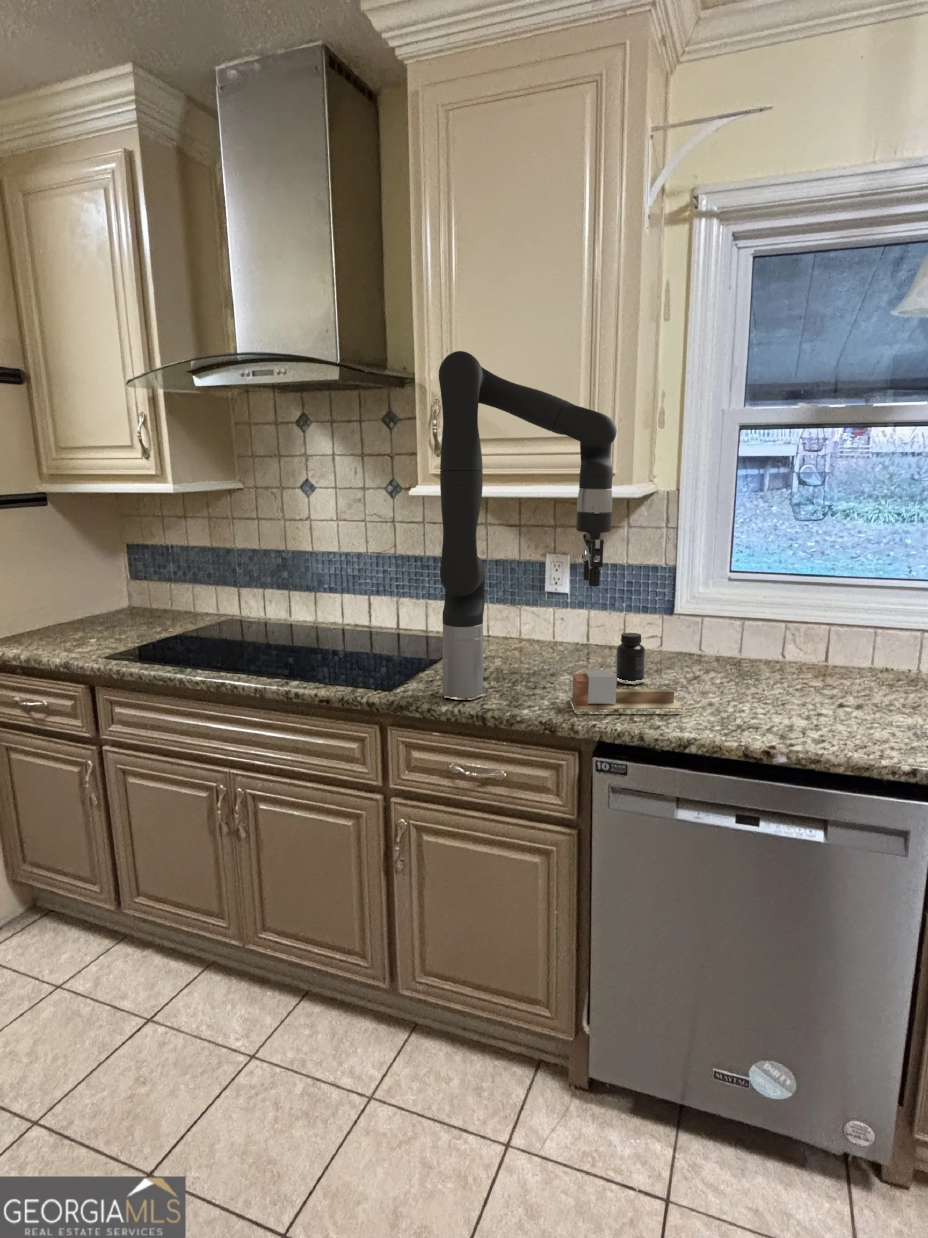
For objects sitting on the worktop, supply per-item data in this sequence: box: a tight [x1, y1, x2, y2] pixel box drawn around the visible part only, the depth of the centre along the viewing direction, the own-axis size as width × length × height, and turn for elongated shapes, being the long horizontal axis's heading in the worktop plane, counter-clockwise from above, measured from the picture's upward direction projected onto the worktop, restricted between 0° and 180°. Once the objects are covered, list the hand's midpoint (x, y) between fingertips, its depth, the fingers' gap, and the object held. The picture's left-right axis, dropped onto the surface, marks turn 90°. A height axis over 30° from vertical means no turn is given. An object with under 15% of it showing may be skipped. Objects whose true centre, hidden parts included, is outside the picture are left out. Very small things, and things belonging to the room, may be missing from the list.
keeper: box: [584, 669, 618, 704], centre depth 159 cm, size 6×6×6 cm
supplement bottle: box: [615, 632, 646, 681], centre depth 178 cm, size 7×7×12 cm
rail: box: [568, 672, 684, 711], centre depth 159 cm, size 23×9×7 cm, turn 90°
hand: (590, 583), depth 162 cm, fingers open, 8 cm apart
